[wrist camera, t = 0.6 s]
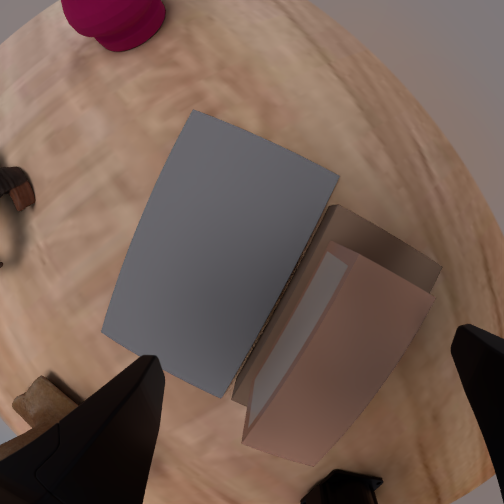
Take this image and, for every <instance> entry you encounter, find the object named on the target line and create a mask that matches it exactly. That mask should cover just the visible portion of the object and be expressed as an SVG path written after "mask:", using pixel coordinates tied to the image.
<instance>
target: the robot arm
mask: <svg viewBox="0 0 504 504" xmlns="http://www.w3.org/2000/svg"><path fill="white" fill-rule="evenodd" d="M451 355H452V357H453V360H454V363H455V365H456V368H457V371H458V374H459V376H460V379H461V382H462V385H463V388H464V391H465V393H466V396H467V398H468V400H469V403H470V405H471V407H472V410H473V412H474V414H475V417H476V419H477V422H478V424H479V427H480V429H481V432H482V435H483V437H484V440H485V443H486V446H487V448H488V451H489V454H490V457H491V460H492V463H493V466H494V470H495V473H496V476H497V479H498V483H499V487H500V489H501V490H500V491H501V495H502V499H503V503H504V339H503V338H500V337H498V336H496V335H494V334H491V333H489V332H487V331H485V330H483V329H480V328H478V327H476V326H474V325H471V324H465V325H461V326H459V327H458V328H457V330H456V333H455V336H454V339H453V342H452V345H451ZM164 387H165V376H164V373H163V370H162V367H161V364H160V361H159V358H158V357H157V356H156V355H142V356H140V357H139V358H138V359H137V360H135V361H134V362H133V363H132V364H130V365H129V366H128V367H127V368H125V369H124V370H123V371H122V372H120V373H119V374H118V375H117V376H115V377H114V378H113V379H112V380H110V381H109V382H108V383H107V384H105V385H104V386H103V387H102V388H100V389H99V390H98V391H97V392H95V393H94V394H93V395H92V396H90V397H89V398H88V399H86V400H85V401H84V402H83V403H81V404H80V405H79V406H78V407H76V408H75V409H74V410H73V411H71V412H70V413H69V414H67V415H66V416H65V417H64V418H62V419H61V420H60V421H59V423H56V424H55V425H53V426H52V427H51V428H49V429H48V430H47V431H45V432H44V433H43V434H41V435H40V436H39V437H37V438H36V439H34V440H33V441H31V442H30V443H28V444H27V445H25V446H24V447H22V448H20V449H19V450H17V451H16V452H14V453H12V454H11V455H9V456H7V457H6V458H4V459H2V460H1V461H0V504H143V499H144V494H145V489H146V485H147V480H148V475H149V471H150V466H151V462H152V458H153V453H154V449H155V445H156V441H157V436H158V432H159V427H160V420H161V411H162V403H163V395H164ZM381 484H383V479H382V478H377V477H371V476H365V475H360V474H355V473H350V472H345V471H340V470H335V471H333V472H332V473H330V474H329V475H328V476H327V477H326V478H325V479H324V480H323V481H322V482H321V483H320V484H319V485H318V486H317V487H315V488H314V489H313V490H312V491H311V492H310V493H309V494H307V495H306V496H305V497H304V498H303V499H302V500H301V501H300V502H301V504H378V502H377V499H376V496H375V492H374V491H375V490H376V489H377V488H378V487H379V486H380V485H381Z"/></svg>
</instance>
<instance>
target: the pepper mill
mask: <svg viewBox="0 0 504 504" xmlns="http://www.w3.org/2000/svg"><path fill="white" fill-rule="evenodd" d="M61 3H62V7H63V11H64V14H65V17H66V19H67V20H68V22H69V24H70V25H71V26H72V27H73V28H74V29H75V30H76V31H77V32H78V33H79V34H81V35H83V36H87V37H94V38H95V39H96V40H97V41H98V42H99V43H100V44H101V45H102V46H103V47H105V48H106V49H108V50H111V51H117V52H119V51H125V50H129V49H132V48H134V47H137V46H138V45H140V44H142V43H144V42H145V41H147V40H148V39H149V38H150V37H151V36H153V35H154V34H155V33H156V31H157V30H158V29H159V28H160V26H161V25H162V23H163V21H164V18H165V7H164V5H163V3H162V1H161V0H61Z"/></svg>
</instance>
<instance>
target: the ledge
mask: <svg viewBox="0 0 504 504" xmlns="http://www.w3.org/2000/svg"><path fill="white" fill-rule="evenodd" d="M330 240H331V241H333V242H335V243H337V244H339V245H342V246H344V247H346V248H348V249H350V250H352V251H354V252H356V253H359V254H361V255H362V256H364V257H366V258H368V259H370V260H371V261H373V262H375V263H377V264H379V265H380V266H382V267H384V268H386V269H388V270H389V271H391V272H393V273H395V274H396V275H398V276H400V277H402V278H403V279H405V280H407V281H409V282H410V283H412V284H414V285H415V286H417V287H419V288H421V289H422V290H424V291H426V292H427V293H430V291H431V290H432V288H433V286H434V284H435V282H436V280H437V277H438V275H439V273H440V271H441V269H442V266H441V265H439V264H438V263H436V262H434V261H433V260H431V259H430V258H428V257H427V256H425V255H424V254H422V253H420V252H419V251H417V250H416V249H414V248H413V247H411V246H409V245H408V244H406V243H404V242H403V241H401V240H400V239H398V238H396V237H395V236H393V235H391V234H390V233H388V232H386V231H385V230H383V229H381V228H379V227H378V226H376V225H374V224H373V223H371V222H369V221H367V220H366V219H364V218H362V217H360V216H359V215H357V214H355V213H353V212H351V211H350V210H348V209H346V208H344V207H342V206H341V205H339V204H337V205H332V206H329V207H328V209H327V211H326V213H325V215H324V217H323V219H322V221H321V223H320V225H319V227H318V229H317V231H316V233H315V235H314V237H313V239H312V241H311V243H310V245H309V247H308V249H307V251H306V253H305V255H304V257H303V259H302V261H301V262H300V264H299V266H298V268H297V270H296V272H295V274H294V276H293V278H292V280H291V281H290V283H289V285H288V287H287V289H286V291H285V293H284V295H283V296H282V298H281V300H280V302H279V304H278V306H277V308H276V309H275V311H274V313H273V315H272V317H271V318H270V320H269V322H268V324H267V326H266V327H265V329H264V331H263V333H262V335H261V336H260V338H259V340H258V342H257V343H256V345H255V347H254V349H253V351H252V352H251V354H250V356H249V358H248V359H247V361H246V363H245V364H244V366H243V368H242V370H241V371H240V373H239V375H238V376H237V378H236V382H235V386H234V390H233V395H232V399H231V400H233V401H235V402H237V403H240V404H242V405H244V406H248V399H249V393H250V387H251V381H252V380H253V378H254V376H255V375H256V373H257V372H258V370H259V368H260V367H261V365H262V363H263V362H264V360H265V358H266V357H267V355H268V353H269V352H270V350H271V348H272V346H273V345H274V343H275V341H276V340H277V338H278V336H279V334H280V333H281V331H282V329H283V327H284V326H285V324H286V322H287V320H288V319H289V317H290V315H291V313H292V312H293V310H294V308H295V306H296V304H297V303H298V301H299V299H300V297H301V295H302V293H303V292H304V290H305V288H306V286H307V284H308V282H309V280H310V279H311V277H312V275H313V273H314V271H315V269H316V267H317V265H318V263H319V262H320V260H321V258H322V256H323V254H324V252H325V250H326V248H327V246H328V244H329V242H330Z"/></svg>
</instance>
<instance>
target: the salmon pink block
mask: <svg viewBox="0 0 504 504" xmlns="http://www.w3.org/2000/svg"><path fill="white" fill-rule="evenodd" d="M435 299H436V297H434V296H432V295H431V294H429V293H427V292H426V291H424V290H422V289H421V288H419V287H417V286H415V285H414V284H412V283H410V282H409V281H407V280H405V279H403V278H402V277H400V276H398V275H396V274H395V273H393V272H391V271H389V270H388V269H386V268H384V267H382V266H380V265H379V264H377V263H375V262H373V261H371V260H370V259H368V258H366V257H364V256H362V255H361V254H359V253H356V252H354V251H352V250H350V249H348V248H346V247H344V246H342V245H339V244H337V243H335V242H333V241H331V240H330V242H329V244H328V246H327V248H326V250H325V252H324V254H323V256H322V258H321V260H320V262H319V263H318V265H317V267H316V269H315V271H314V273H313V275H312V277H311V279H310V280H309V282H308V284H307V286H306V288H305V290H304V292H303V293H302V295H301V297H300V299H299V301H298V303H297V304H296V306H295V308H294V310H293V312H292V313H291V315H290V317H289V319H288V320H287V322H286V324H285V326H284V327H283V329H282V331H281V333H280V334H279V336H278V338H277V340H276V341H275V343H274V345H273V346H272V348H271V350H270V352H269V353H268V355H267V357H266V358H265V360H264V362H263V363H262V365H261V367H260V368H259V370H258V372H257V373H256V375H255V376H254V378H253V380H252V381H251V387H250V393H249V399H248V406H247V412H246V418H245V424H244V430H243V436H242V442H241V444H244V445H246V446H249V447H252V448H255V449H257V450H260V451H263V452H266V453H269V454H272V455H275V456H278V457H281V458H285V459H288V460H291V461H295V462H298V463H302V464H305V465H309V466H313V467H314V466H315V465H316V464H317V463H318V462H319V461H320V460H321V459H322V458H323V457H324V455H325V454H326V453H327V452H328V451H329V450H330V449H331V448H332V447H333V446H334V445H335V443H336V442H337V441H338V440H339V439H340V438H341V437H342V436H343V434H344V433H345V432H346V431H347V430H348V429H349V427H350V426H351V425H352V424H353V423H354V421H355V420H356V419H357V418H358V416H359V415H360V414H361V413H362V411H363V410H364V409H365V408H366V406H367V405H368V404H369V402H370V401H371V400H372V399H373V397H374V396H375V395H376V393H377V392H378V390H379V389H380V388H381V386H382V385H383V384H384V382H385V381H386V379H387V378H388V376H389V375H390V374H391V372H392V371H393V369H394V368H395V366H396V365H397V363H398V362H399V360H400V359H401V357H402V356H403V354H404V352H405V351H406V349H407V348H408V346H409V344H410V343H411V341H412V340H413V338H414V336H415V335H416V333H417V331H418V329H419V328H420V326H421V324H422V323H423V321H424V319H425V317H426V315H427V314H428V312H429V310H430V308H431V306H432V304H433V303H434V301H435Z"/></svg>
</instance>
